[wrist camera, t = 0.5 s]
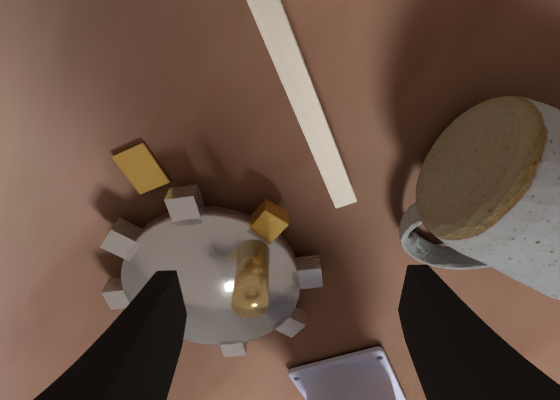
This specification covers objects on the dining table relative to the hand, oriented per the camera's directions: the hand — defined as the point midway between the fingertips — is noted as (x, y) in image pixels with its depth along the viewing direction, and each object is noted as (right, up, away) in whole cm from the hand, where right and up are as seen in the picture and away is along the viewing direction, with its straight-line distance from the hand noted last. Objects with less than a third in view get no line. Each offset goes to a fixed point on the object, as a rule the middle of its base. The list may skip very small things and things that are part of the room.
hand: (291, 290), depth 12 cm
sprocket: (-5, -2, +13) cm, 14 cm away
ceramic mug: (+11, +4, +9) cm, 15 cm away
